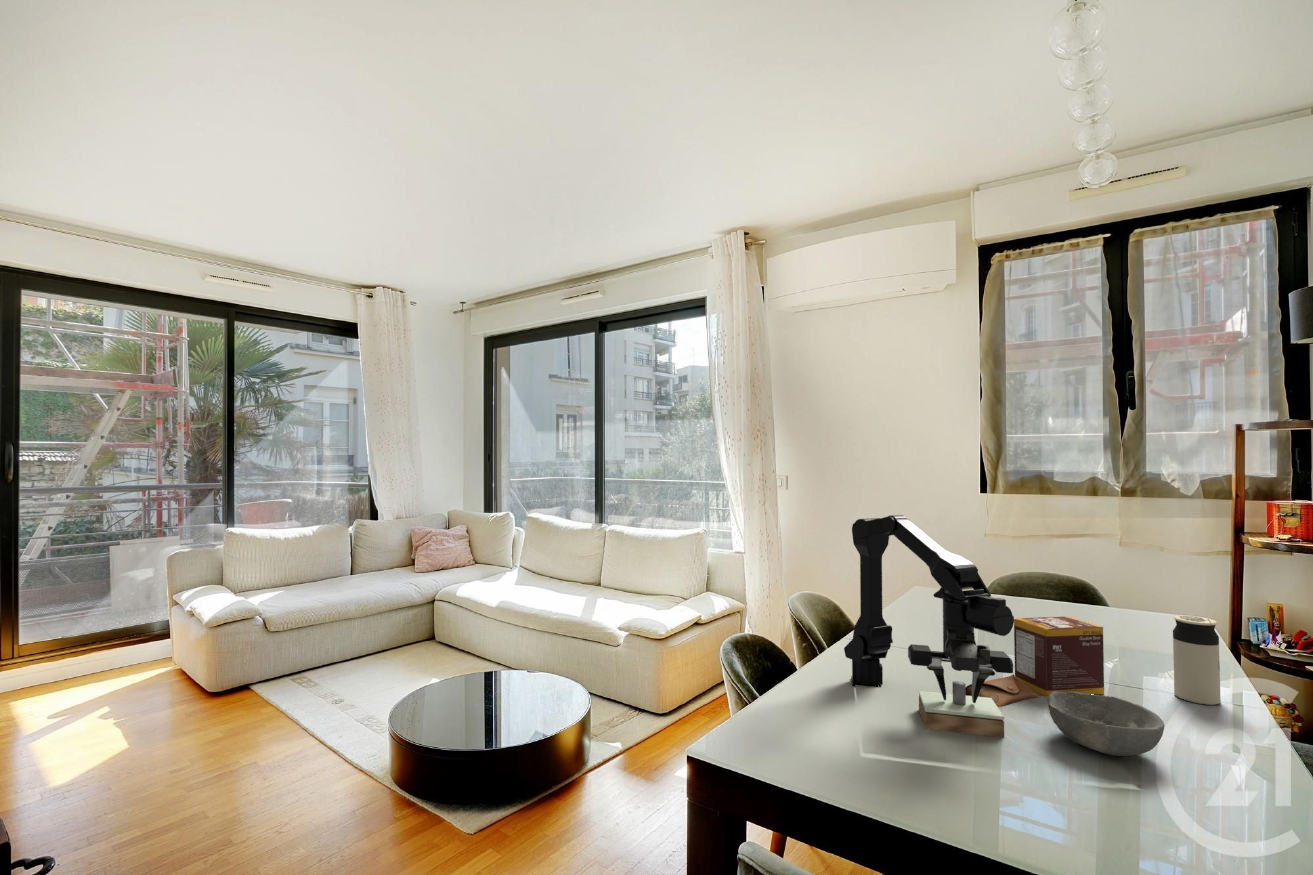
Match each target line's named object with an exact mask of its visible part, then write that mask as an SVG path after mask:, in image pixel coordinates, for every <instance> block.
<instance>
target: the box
mask: <svg viewBox="0 0 1313 875" xmlns="http://www.w3.org/2000/svg"><path fill="white" fill-rule="evenodd" d="M918 711H919V714H920V716H921V720H922V721H923V724H924V727H925V728H924V729H925V730H934V731H941V732H951V733H959V734H960V733H961V734H970V735H977V736H986V737H996V738H1005V721H1004V720H1001V719H991V718H981V717H972V716H962V715H952V714H943V713H933V712H926V711H925V709H924V706H923V703H922V701H921V698H920V696H919V695H918Z"/></svg>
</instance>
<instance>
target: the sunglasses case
mask: <svg viewBox="0 0 1313 875" xmlns="http://www.w3.org/2000/svg"><path fill="white" fill-rule="evenodd" d="M966 696H972V683H971V684H968V685H966ZM978 697H987V698H992V700H993V701H994V703H995V704H996V706H997V707H998V708H1003V707H1007V706H1010V705H1011V704H1012V705H1013V704H1015V703H1019V702H1023V701H1027V700H1030V699H1035V698H1041V697H1042V695H1041V694H1039V693H1036V692H1035V691H1033V690H1032V689H1031V688H1029V687H1028V686H1027V685H1025V684H1024V683H1023V682H1021V681H1020V680H1019V679H1017V678H1016V677H1015V673H1012V674H1011V675H1009V676H1006V677H1001V678H1000V677H999V678H994V679H991V680H985V682H984V683H983V685H982V688H981V690H980V693H979V695H978Z"/></svg>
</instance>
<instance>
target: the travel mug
mask: <svg viewBox="0 0 1313 875" xmlns="http://www.w3.org/2000/svg"><path fill="white" fill-rule="evenodd" d="M1173 619H1174V620H1175V627H1174V628H1173V630H1172V651H1173V653H1172V654H1173V656H1172V657H1173V689H1174V690H1173V691H1174V695H1175V696H1176V697H1177V698H1179V699H1181V700H1183V699H1184V700H1183V701H1186V700H1187V701H1186V702H1189V701H1190V702H1189V703H1193V702H1195V703H1194V704H1197V703H1198V705H1203V704H1205V705H1206V706H1210V705H1211V706H1215V705H1219V704H1221V703H1222V702H1221V701H1222V700H1221V673H1220V672H1221V671H1220V668H1221V667H1220V666H1221V665H1220V636H1219V635H1218V633H1217V632H1216V631H1215V629H1216V625H1217V624H1218V622H1217V621H1216V620H1215V619H1210V618H1207V617H1202V616H1196V615H1185V614H1183V615H1180V614H1179V615H1174V616H1173ZM1205 705H1204V706H1205Z"/></svg>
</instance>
